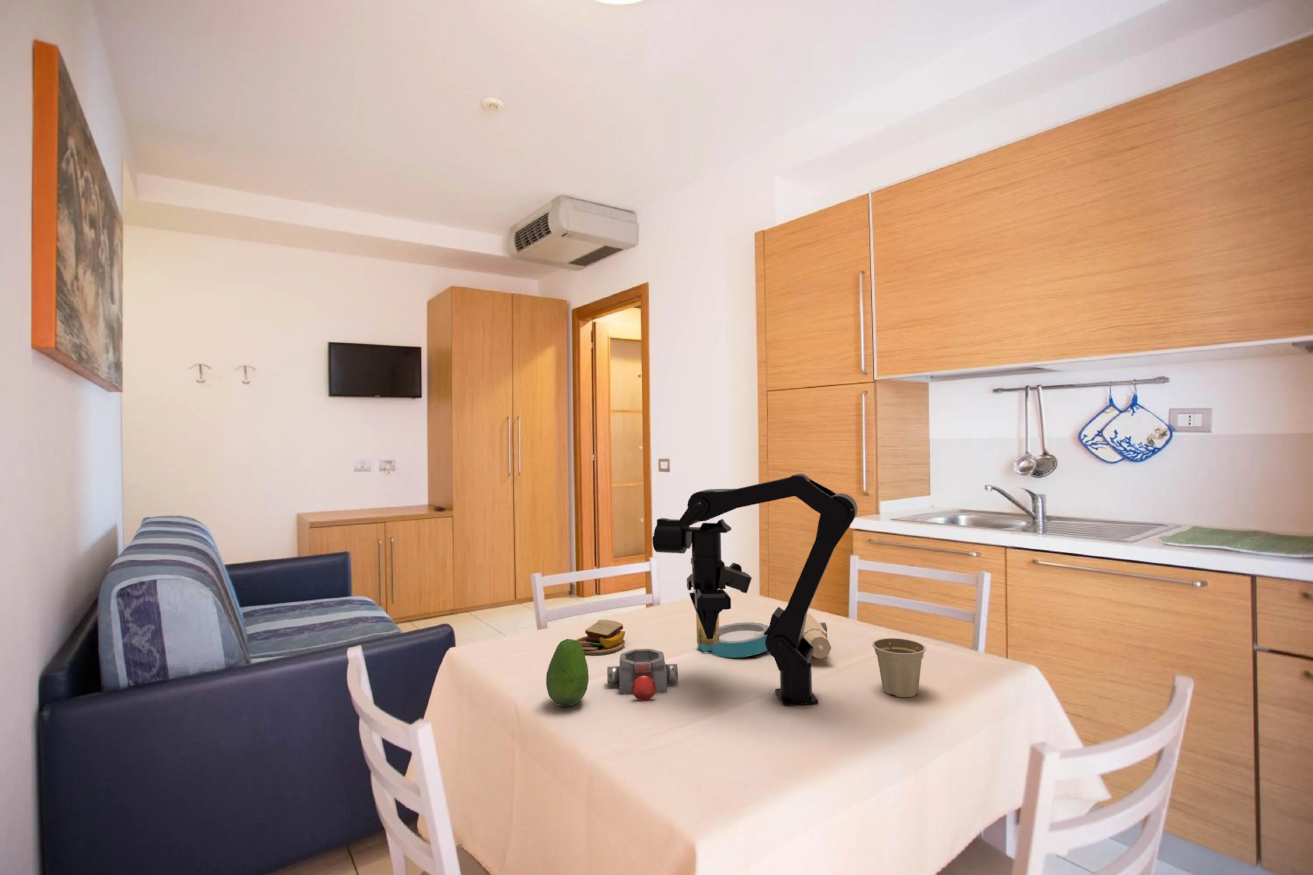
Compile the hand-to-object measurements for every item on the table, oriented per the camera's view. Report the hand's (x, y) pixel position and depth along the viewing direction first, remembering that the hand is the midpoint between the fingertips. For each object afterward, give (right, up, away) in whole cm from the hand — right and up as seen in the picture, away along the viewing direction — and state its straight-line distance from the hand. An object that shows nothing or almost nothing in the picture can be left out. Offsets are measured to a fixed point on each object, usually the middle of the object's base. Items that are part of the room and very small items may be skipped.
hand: (708, 634), depth 120 cm
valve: (-13, -10, 0) cm, 16 cm away
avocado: (-26, -11, -7) cm, 29 cm away
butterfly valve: (+14, -11, +22) cm, 28 cm away
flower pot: (+36, -9, -4) cm, 37 cm away
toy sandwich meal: (-24, -12, +26) cm, 37 cm away
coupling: (0, -1, 0) cm, 1 cm away
